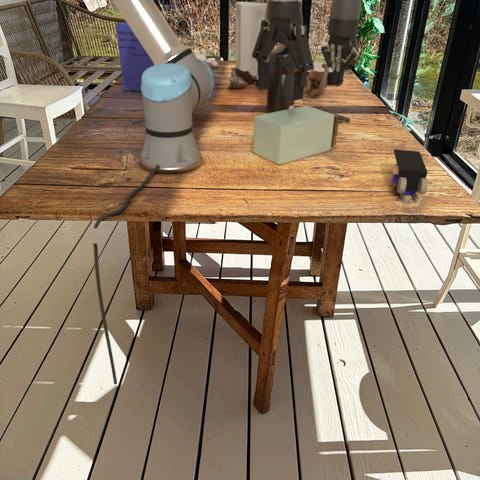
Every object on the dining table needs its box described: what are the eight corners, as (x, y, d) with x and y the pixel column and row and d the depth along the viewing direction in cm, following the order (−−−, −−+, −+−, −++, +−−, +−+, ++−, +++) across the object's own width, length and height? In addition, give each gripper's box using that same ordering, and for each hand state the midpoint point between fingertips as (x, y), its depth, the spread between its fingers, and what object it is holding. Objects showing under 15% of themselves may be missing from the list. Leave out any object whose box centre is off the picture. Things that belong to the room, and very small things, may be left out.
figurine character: (424, 210, 105) (414, 176, 117) (433, 180, 100) (421, 147, 112) (393, 207, 106) (386, 174, 118) (400, 178, 101) (392, 146, 113)
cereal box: (169, 88, 189) (165, 22, 177) (167, 91, 185) (163, 24, 172) (126, 87, 190) (119, 21, 177) (123, 90, 186) (115, 23, 173)
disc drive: (294, 84, 198) (295, 72, 195) (288, 72, 217) (289, 61, 215) (336, 84, 198) (337, 72, 196) (326, 73, 218) (327, 61, 215)
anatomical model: (314, 99, 193) (314, 101, 179) (299, 84, 192) (297, 84, 178) (337, 75, 188) (338, 74, 174) (321, 59, 188) (321, 57, 173)
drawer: (325, 131, 144) (328, 104, 140) (349, 140, 137) (353, 112, 133) (265, 146, 132) (266, 117, 127) (288, 157, 125) (290, 127, 121)
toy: (173, 75, 210) (172, 58, 207) (149, 64, 228) (148, 49, 224) (220, 69, 222) (220, 53, 218) (194, 59, 239) (193, 45, 236)
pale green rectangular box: (303, 139, 140) (306, 105, 135) (330, 150, 133) (334, 114, 128) (253, 152, 131) (254, 116, 125) (278, 164, 123) (281, 126, 118)
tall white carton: (273, 76, 210) (276, 6, 196) (239, 77, 209) (240, 6, 194) (266, 67, 226) (268, 2, 212) (235, 67, 225) (235, 1, 210)
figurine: (210, 87, 179) (288, 95, 182) (212, 65, 176) (291, 73, 180) (208, 84, 201) (278, 91, 205) (210, 64, 198) (280, 71, 202)
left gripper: (335, 3, 103) (325, 102, 114) (263, -5, 120) (260, 82, 131) (310, 4, 99) (302, 107, 110) (239, -4, 116) (238, 85, 127)
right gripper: (374, 18, 120) (364, 88, 129) (336, 13, 129) (329, 79, 138) (354, 19, 116) (345, 92, 125) (316, 14, 125) (310, 82, 134)
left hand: (279, 93), depth 120 cm, fingers open, 13 cm apart
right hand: (336, 85), depth 131 cm, fingers closed
